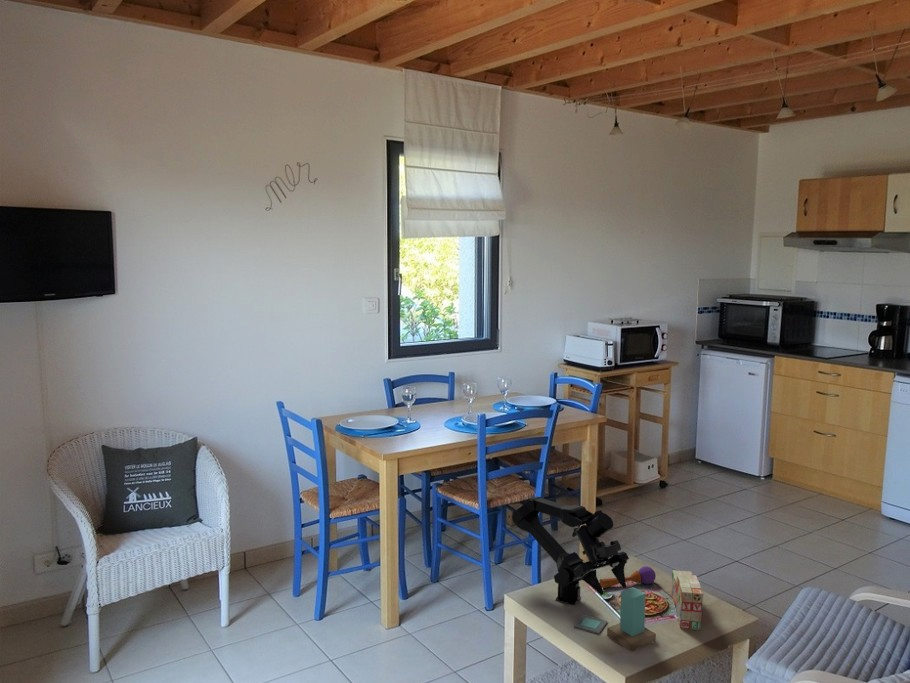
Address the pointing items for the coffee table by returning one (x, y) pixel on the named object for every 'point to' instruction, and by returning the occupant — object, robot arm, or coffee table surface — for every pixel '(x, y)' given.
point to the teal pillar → (632, 611)
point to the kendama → (632, 577)
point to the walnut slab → (631, 637)
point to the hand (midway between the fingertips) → (613, 591)
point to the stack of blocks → (687, 599)
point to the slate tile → (590, 624)
